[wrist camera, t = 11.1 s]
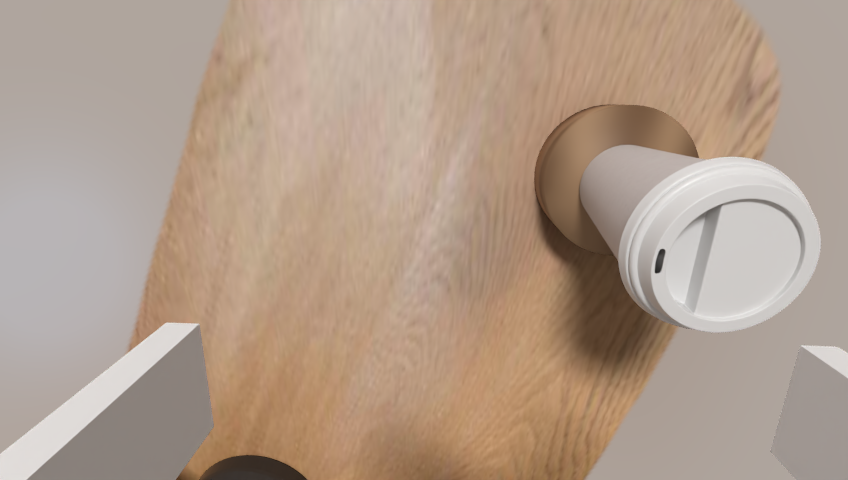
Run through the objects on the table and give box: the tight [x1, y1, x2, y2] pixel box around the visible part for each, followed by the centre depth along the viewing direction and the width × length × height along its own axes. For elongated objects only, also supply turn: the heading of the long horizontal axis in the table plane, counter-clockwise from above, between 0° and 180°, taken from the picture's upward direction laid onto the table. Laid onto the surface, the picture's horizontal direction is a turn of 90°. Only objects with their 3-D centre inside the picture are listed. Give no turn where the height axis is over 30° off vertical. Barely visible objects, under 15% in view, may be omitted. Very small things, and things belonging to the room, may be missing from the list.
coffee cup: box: [580, 145, 821, 332], centre depth 29 cm, size 10×10×15 cm
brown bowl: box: [534, 105, 699, 255], centre depth 39 cm, size 12×12×5 cm
